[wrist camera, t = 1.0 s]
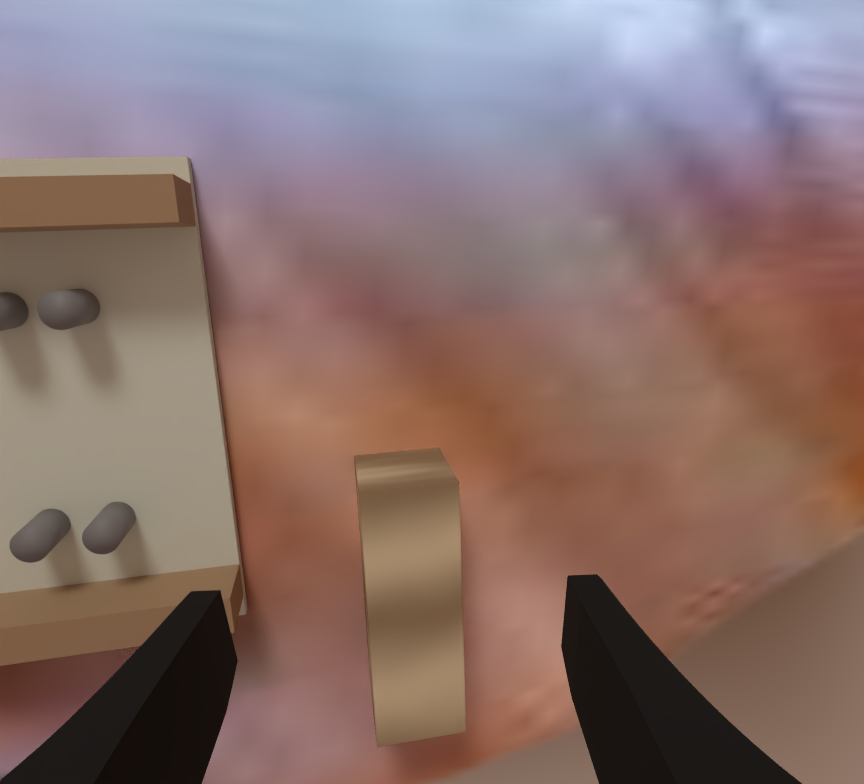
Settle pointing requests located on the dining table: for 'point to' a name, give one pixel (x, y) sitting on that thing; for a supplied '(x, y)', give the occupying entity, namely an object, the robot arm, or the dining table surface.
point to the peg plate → (107, 408)
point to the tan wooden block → (412, 593)
